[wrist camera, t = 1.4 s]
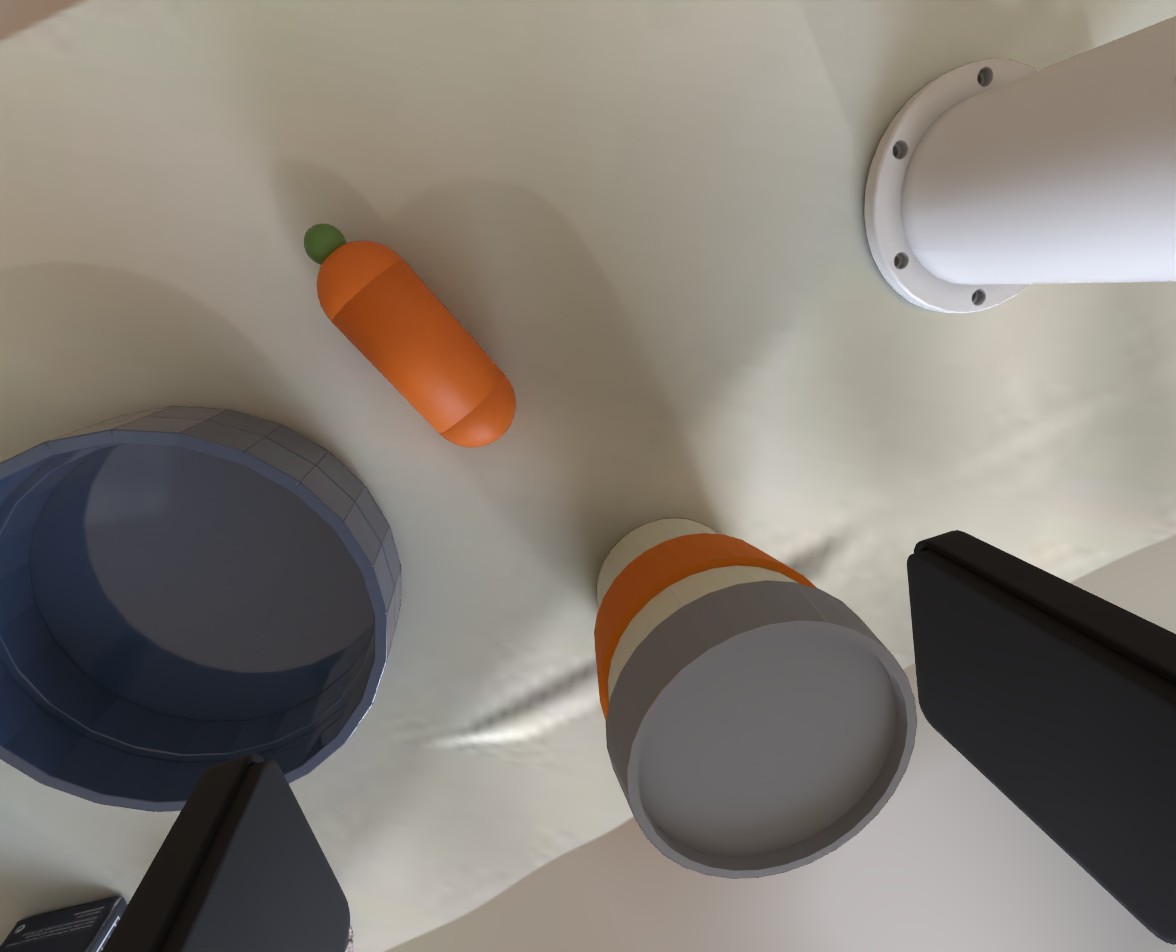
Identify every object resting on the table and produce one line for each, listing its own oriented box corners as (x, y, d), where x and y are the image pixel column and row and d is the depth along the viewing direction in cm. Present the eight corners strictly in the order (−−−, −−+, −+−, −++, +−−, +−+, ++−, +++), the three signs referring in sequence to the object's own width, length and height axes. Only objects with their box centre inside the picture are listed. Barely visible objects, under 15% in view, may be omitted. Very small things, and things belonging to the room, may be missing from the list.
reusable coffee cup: (606, 702, 40) (674, 928, 26) (536, 536, 36) (572, 695, 22) (783, 629, 41) (945, 809, 27) (734, 458, 37) (893, 562, 22)
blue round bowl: (120, 328, 30) (35, 336, 24) (467, 526, 35) (464, 571, 30) (-52, 638, 32) (-165, 712, 27) (296, 776, 38) (263, 862, 32)
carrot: (530, 400, 34) (537, 415, 30) (469, 452, 34) (468, 475, 30) (355, 202, 30) (335, 187, 26) (288, 263, 30) (257, 258, 26)
